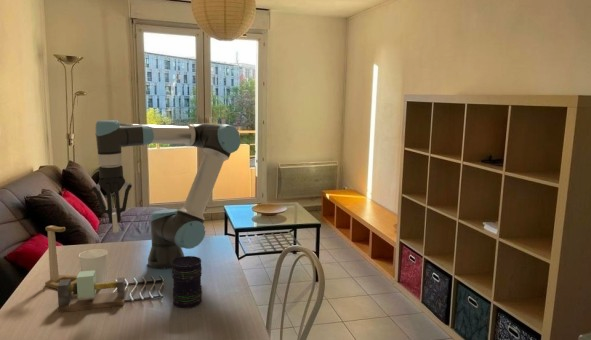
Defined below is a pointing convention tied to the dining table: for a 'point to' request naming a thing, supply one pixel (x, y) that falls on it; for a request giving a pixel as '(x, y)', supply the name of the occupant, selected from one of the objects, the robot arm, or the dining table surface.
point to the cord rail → (97, 301)
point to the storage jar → (187, 282)
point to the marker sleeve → (86, 284)
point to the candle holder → (95, 263)
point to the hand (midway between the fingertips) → (115, 231)
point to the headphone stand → (55, 259)
